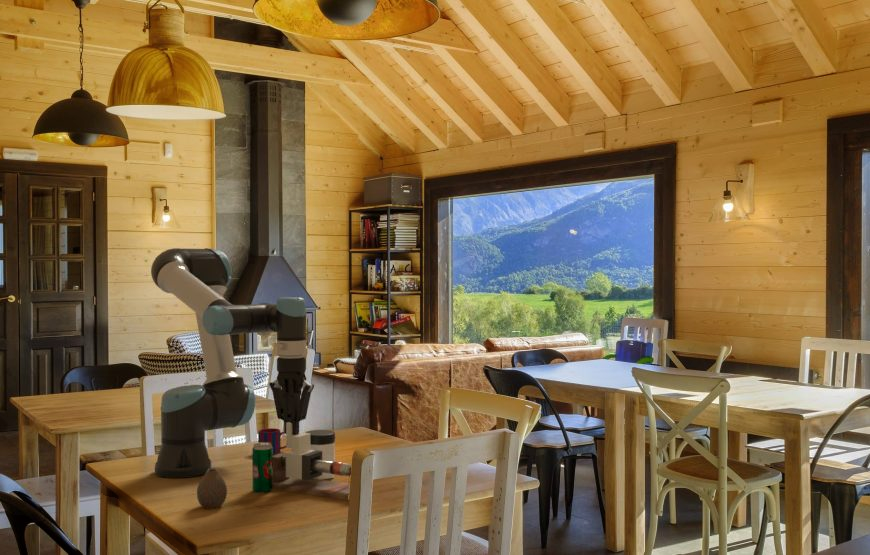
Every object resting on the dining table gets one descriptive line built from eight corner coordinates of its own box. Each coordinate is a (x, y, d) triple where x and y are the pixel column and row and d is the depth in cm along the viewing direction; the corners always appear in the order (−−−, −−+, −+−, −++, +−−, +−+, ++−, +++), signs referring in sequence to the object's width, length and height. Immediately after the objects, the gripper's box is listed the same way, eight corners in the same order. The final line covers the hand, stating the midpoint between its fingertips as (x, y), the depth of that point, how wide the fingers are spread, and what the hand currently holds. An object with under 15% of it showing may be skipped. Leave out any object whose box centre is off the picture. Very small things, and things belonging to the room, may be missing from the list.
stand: (265, 487, 219) (265, 458, 219) (289, 479, 228) (289, 451, 228) (350, 500, 208) (350, 469, 208) (372, 490, 217) (372, 461, 216)
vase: (199, 512, 198) (199, 474, 197) (195, 504, 204) (195, 468, 204) (229, 509, 200) (229, 471, 200) (224, 501, 207) (224, 465, 207)
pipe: (277, 468, 222) (277, 456, 222) (284, 465, 225) (284, 453, 225) (354, 478, 211) (354, 466, 211) (361, 476, 214) (361, 463, 214)
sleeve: (285, 477, 219) (285, 436, 219) (300, 471, 224) (300, 431, 224) (301, 479, 217) (301, 437, 216) (315, 474, 222) (315, 433, 222)
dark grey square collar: (301, 479, 217) (301, 455, 216) (315, 474, 222) (315, 450, 222) (308, 480, 216) (308, 455, 216) (322, 474, 221) (322, 451, 221)
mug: (260, 450, 264) (260, 428, 264) (292, 450, 264) (292, 428, 264) (256, 454, 257) (256, 432, 257) (289, 454, 258) (289, 432, 257)
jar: (311, 481, 226) (311, 436, 225) (298, 475, 232) (298, 431, 232) (341, 477, 230) (341, 433, 230) (328, 471, 237) (328, 428, 237)
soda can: (250, 489, 218) (250, 442, 218) (270, 487, 220) (270, 441, 220) (254, 494, 213) (254, 446, 213) (274, 492, 215) (274, 445, 215)
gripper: (262, 356, 221) (262, 447, 221) (303, 359, 215) (303, 452, 215) (280, 354, 228) (280, 442, 228) (320, 356, 222) (320, 446, 222)
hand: (291, 446), depth 222 cm, fingers closed
